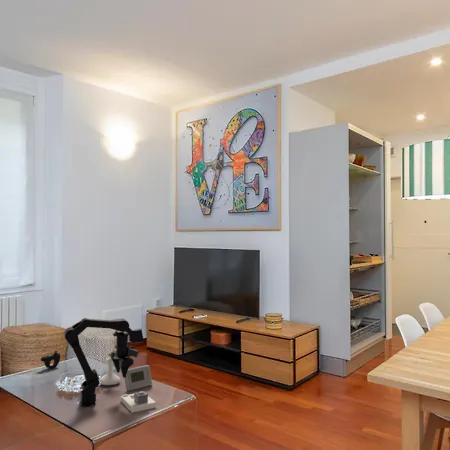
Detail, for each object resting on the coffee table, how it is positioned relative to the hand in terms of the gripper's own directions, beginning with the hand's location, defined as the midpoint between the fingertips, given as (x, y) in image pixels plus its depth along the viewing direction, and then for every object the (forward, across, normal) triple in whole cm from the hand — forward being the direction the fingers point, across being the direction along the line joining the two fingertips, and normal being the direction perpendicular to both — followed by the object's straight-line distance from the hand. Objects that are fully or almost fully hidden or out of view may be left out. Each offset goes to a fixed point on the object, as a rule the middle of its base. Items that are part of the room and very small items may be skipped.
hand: (121, 375), depth 213 cm
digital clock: (+12, +12, -14) cm, 22 cm away
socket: (+12, -11, -5) cm, 17 cm away
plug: (+12, -15, -5) cm, 20 cm away
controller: (+12, +69, +21) cm, 73 cm away
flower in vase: (+12, +25, -3) cm, 28 cm away
